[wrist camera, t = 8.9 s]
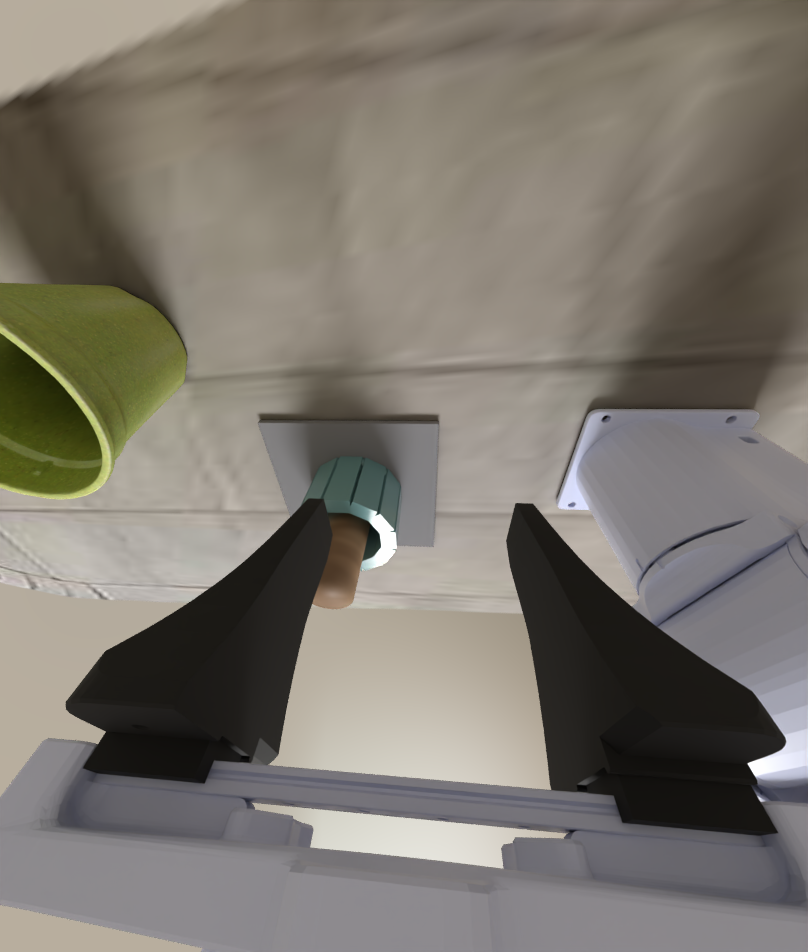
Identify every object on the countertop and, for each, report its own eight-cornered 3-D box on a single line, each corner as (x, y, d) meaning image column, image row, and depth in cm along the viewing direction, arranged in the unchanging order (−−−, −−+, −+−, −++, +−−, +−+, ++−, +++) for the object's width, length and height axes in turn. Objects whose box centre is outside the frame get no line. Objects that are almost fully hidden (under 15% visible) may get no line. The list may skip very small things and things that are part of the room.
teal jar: (399, 457, 22) (393, 502, 18) (402, 525, 26) (398, 572, 22) (304, 455, 22) (279, 499, 19) (322, 522, 27) (305, 568, 23)
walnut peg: (373, 482, 23) (349, 580, 16) (377, 512, 25) (356, 610, 18) (332, 482, 23) (293, 577, 17) (339, 511, 25) (306, 607, 19)
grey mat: (438, 421, 20) (438, 424, 20) (433, 543, 28) (433, 546, 28) (260, 420, 21) (257, 423, 21) (300, 538, 29) (299, 542, 28)
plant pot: (133, 214, 15) (-117, 200, 8) (249, 394, 20) (156, 477, 14) (5, 283, 17) (-273, 317, 10) (140, 429, 23) (13, 515, 16)
